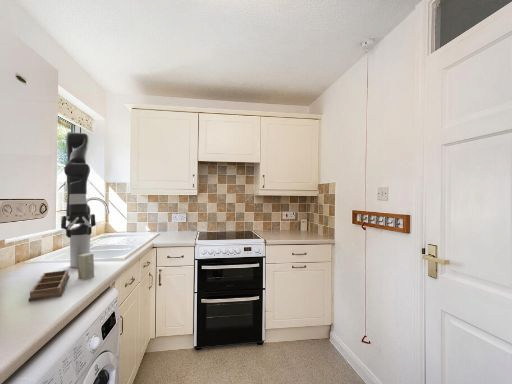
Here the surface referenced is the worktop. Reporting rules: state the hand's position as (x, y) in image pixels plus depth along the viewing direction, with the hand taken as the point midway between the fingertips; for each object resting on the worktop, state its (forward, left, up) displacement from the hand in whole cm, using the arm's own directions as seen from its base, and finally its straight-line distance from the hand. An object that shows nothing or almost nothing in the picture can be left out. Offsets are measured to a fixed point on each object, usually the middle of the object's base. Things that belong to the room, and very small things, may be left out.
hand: (79, 236), depth 132 cm
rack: (+16, -9, -19) cm, 26 cm away
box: (+8, +3, -19) cm, 21 cm away
